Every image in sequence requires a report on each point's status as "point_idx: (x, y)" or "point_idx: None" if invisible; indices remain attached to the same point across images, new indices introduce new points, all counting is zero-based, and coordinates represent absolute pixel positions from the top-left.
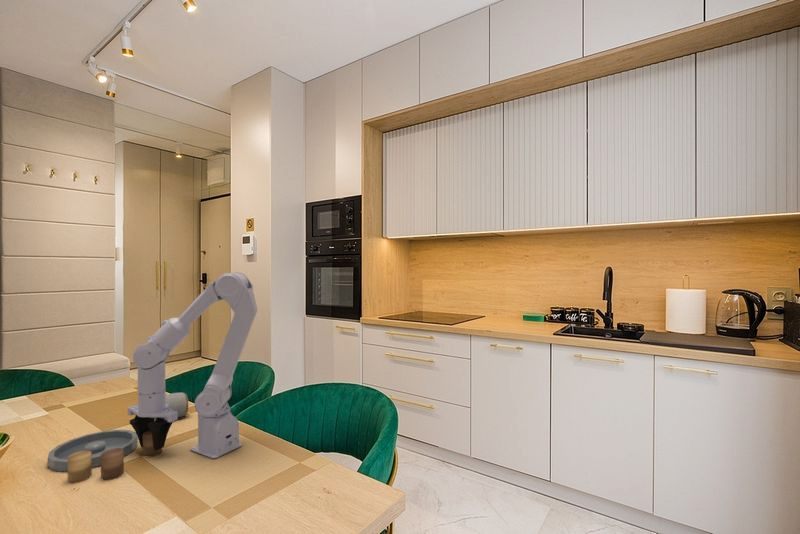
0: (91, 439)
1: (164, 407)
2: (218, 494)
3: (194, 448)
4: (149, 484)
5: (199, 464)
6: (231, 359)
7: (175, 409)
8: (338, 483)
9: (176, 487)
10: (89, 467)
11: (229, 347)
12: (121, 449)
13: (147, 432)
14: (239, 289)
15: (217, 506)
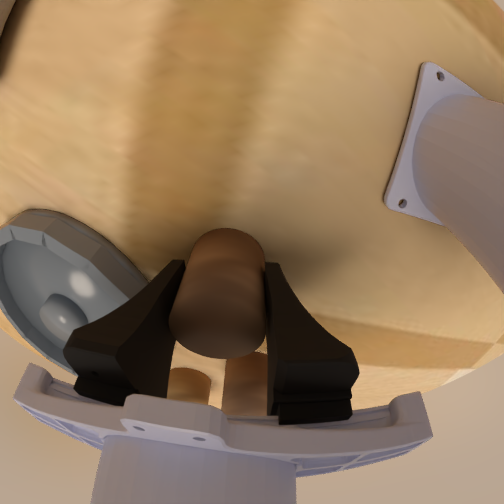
0: (1, 275)
1: (288, 473)
2: (501, 324)
3: (401, 198)
4: (379, 359)
5: (456, 269)
6: None
7: None
8: None
9: (438, 344)
10: (204, 397)
11: None
12: (256, 413)
13: (189, 335)
14: None
15: (500, 339)
